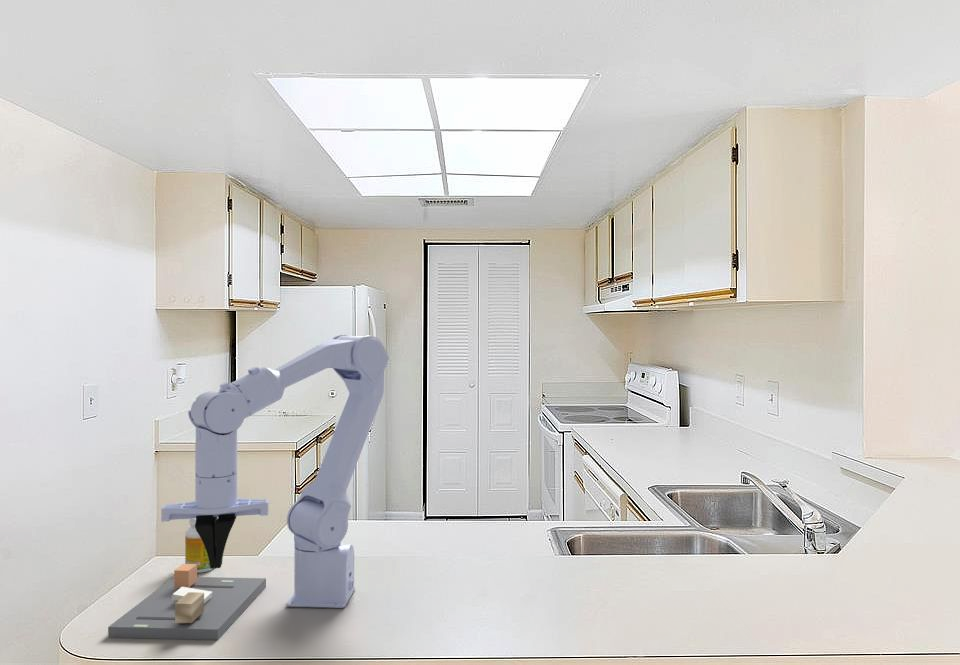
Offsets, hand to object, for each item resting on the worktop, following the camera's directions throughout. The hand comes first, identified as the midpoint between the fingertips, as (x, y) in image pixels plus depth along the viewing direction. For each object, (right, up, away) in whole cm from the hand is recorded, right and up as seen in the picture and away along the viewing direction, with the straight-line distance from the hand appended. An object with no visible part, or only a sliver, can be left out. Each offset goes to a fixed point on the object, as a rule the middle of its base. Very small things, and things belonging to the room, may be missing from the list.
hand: (216, 566), depth 98 cm
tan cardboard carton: (-4, -8, 0) cm, 9 cm away
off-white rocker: (-6, -7, +6) cm, 11 cm away
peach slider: (-10, -7, +13) cm, 18 cm away
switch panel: (-6, -9, +7) cm, 13 cm away
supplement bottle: (-13, -9, +25) cm, 29 cm away
